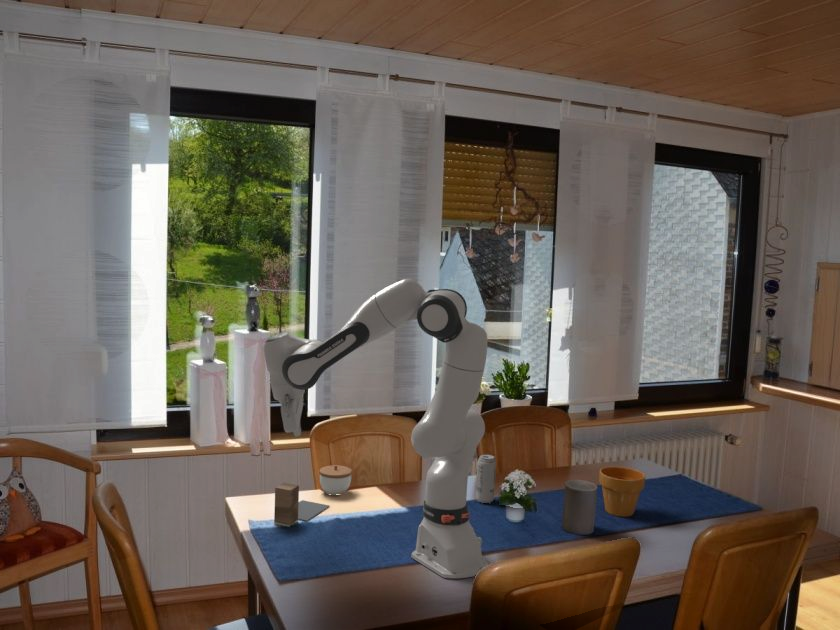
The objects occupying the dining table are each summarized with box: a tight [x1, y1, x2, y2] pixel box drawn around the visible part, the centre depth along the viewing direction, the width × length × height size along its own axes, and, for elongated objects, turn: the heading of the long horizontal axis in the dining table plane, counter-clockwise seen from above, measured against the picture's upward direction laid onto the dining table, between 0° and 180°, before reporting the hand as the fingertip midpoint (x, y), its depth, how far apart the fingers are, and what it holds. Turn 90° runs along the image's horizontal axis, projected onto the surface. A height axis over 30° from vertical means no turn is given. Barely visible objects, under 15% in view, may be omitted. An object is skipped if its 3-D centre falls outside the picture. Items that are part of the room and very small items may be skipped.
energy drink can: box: [475, 454, 497, 504], centre depth 243 cm, size 6×6×15 cm
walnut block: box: [273, 482, 300, 528], centre depth 217 cm, size 5×5×11 cm
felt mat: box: [298, 499, 330, 522], centre depth 227 cm, size 14×10×1 cm
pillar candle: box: [561, 479, 598, 536], centre depth 223 cm, size 10×10×15 cm
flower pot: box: [598, 466, 646, 518], centre depth 238 cm, size 14×14×13 cm
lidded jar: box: [318, 464, 353, 496], centre depth 245 cm, size 11×11×9 cm
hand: (298, 434), depth 211 cm, fingers closed
